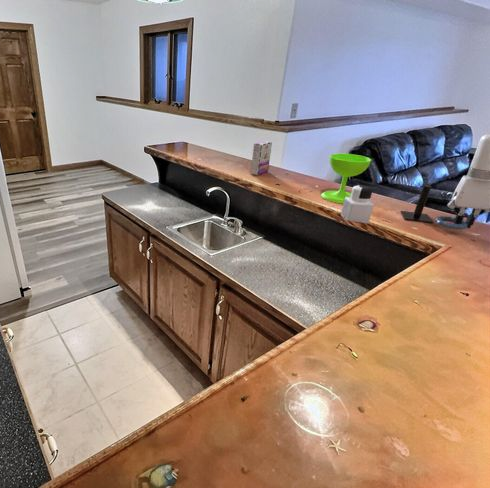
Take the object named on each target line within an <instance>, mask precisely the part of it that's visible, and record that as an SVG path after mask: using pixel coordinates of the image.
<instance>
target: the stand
mask: <svg viewBox="0 0 490 488" xmlns="http://www.w3.org/2000/svg"><path fill="white" fill-rule="evenodd" d="M431 189H432V185H428V184H424V185H423V186H422V189H421V192H420V195H419V197H418V200H417V203H416V205H415V208H414V211H408V210H407V211H406V210H400V214H401V216H402V218H403V219H404V221H408V222H409V221H410V222H417V223H423V224H430V225H433V224H434V220H433V219H431V217H430V215H429V214H428V213H424V212H423V211H424V208H425V205H426V202H427V200H428V197H429V195H430V192H431Z"/></svg>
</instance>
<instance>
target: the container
mask: <svg viewBox="0 0 490 488" xmlns="http://www.w3.org/2000/svg"><path fill="white" fill-rule="evenodd" d="M373 191H374V190H373V189H372V188H371V187H370V186H368V185H361V184H360V185H359V184H358V185H354V186H353V187H352V190H351V192H350V193H351V196H350V197H345V200H344V204H342V207H341V211H340V212H341V213H340V217H342V219H343V220H344V221H346V222H347V221H348V222H355V223H363V224H369V223H370V221H371V217H372V214H373V210H374V207H375V204H374V203H373V202H371V197H372V194H373Z"/></svg>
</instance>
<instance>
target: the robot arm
mask: <svg viewBox="0 0 490 488" xmlns="http://www.w3.org/2000/svg"><path fill="white" fill-rule="evenodd" d="M446 206H447V208H449V209H451V210H453V211H454V212H455V214H456V215H455V217H454V218H455V221H454V223H453V224H461V223H462V221H463V220H464V218H465V216H464V213H465V211H466V209H467V208H468V209H472V210H471V212H470V214H468V215H467V217H466V220H465V221H466V222H467V223H468V227H466V229H471V227H472V226H473V225H474V223H475V220H476V219H477V218H479V216H481V215H483V214H486V213H490V133H487V134H484V135H482V136H481V137H480V139H479V141H478V145H477V147H476V150H475V153H474V154H473V158H472V160H471V163H470V166H469V168H468V171H467V173H466V175H462V177H461V179H460V181H459V182H458V184H457V186H456V188H455V190H454V191H453V194H452V196H451V199H450V201H449V202H448V203H446Z"/></svg>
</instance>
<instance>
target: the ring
mask: <svg viewBox="0 0 490 488" xmlns="http://www.w3.org/2000/svg"><path fill="white" fill-rule="evenodd" d="M455 218H456V217H455V216H447V215H441V216H437V217H435V218H434V219H433V222H434V223H435V224H436V225H439V226H440V227H441V228H442V227H443V228H446V229H450V230H451V229H452V230H465V229H467V227H468V223H467V222H466V220H464V219H463V221H462V223H461V224H455V223H454V221H455Z"/></svg>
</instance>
